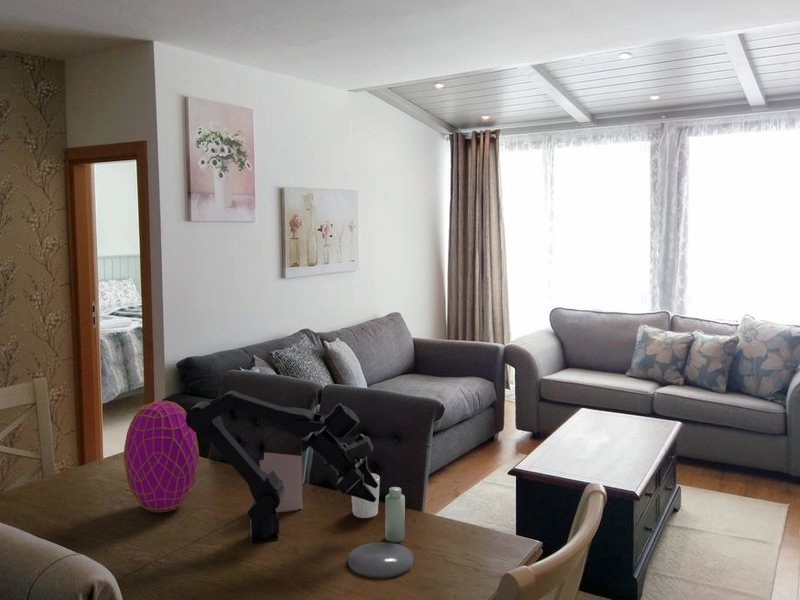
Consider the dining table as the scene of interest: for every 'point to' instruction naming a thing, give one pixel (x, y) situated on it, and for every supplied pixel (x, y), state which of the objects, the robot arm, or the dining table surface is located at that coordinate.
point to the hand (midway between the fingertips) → (376, 493)
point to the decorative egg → (161, 456)
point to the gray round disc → (380, 560)
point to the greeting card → (286, 478)
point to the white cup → (367, 502)
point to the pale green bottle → (395, 515)
